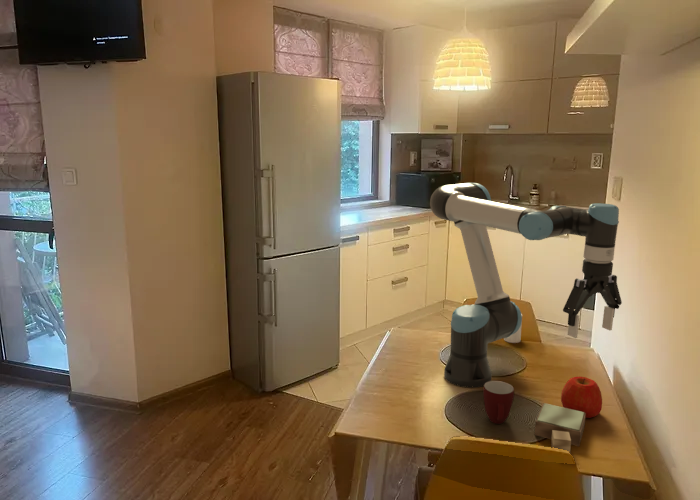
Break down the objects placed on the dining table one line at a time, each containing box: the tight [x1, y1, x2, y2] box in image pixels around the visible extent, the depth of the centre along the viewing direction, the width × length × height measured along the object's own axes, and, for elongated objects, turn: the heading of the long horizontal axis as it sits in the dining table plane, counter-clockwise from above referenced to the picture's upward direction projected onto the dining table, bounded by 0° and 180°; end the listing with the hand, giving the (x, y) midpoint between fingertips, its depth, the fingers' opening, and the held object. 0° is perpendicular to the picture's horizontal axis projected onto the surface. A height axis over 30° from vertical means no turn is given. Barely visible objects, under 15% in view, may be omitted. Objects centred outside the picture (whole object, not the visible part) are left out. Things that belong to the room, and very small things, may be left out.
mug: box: [482, 380, 515, 425], centre depth 146 cm, size 11×8×10 cm
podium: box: [534, 402, 586, 447], centre depth 142 cm, size 11×11×4 cm
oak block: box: [550, 430, 572, 453], centre depth 134 cm, size 4×4×4 cm
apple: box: [560, 376, 603, 419], centre depth 151 cm, size 11×11×11 cm
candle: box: [503, 301, 523, 344], centre depth 204 cm, size 6×6×15 cm
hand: (589, 332), depth 151 cm, fingers open, 13 cm apart
